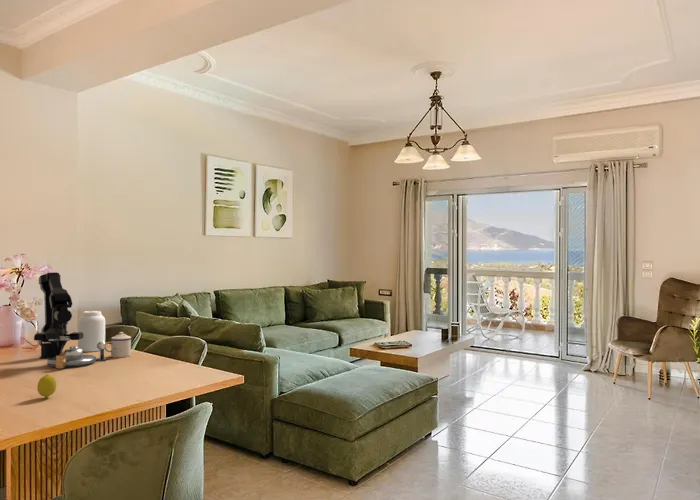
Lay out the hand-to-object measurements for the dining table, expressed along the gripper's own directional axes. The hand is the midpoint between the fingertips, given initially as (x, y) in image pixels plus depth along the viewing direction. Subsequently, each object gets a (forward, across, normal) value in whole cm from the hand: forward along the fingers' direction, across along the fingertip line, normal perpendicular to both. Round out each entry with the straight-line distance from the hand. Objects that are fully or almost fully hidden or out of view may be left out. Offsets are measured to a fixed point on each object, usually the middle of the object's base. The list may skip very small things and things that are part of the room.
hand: (58, 355), depth 228 cm
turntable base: (+4, +6, 0) cm, 7 cm away
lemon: (+4, +20, -57) cm, 61 cm away
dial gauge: (+4, +16, +8) cm, 18 cm away
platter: (+3, +6, -2) cm, 7 cm away
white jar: (+4, +1, +36) cm, 36 cm away
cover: (+1, +6, 0) cm, 7 cm away
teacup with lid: (+4, +20, +17) cm, 26 cm away
